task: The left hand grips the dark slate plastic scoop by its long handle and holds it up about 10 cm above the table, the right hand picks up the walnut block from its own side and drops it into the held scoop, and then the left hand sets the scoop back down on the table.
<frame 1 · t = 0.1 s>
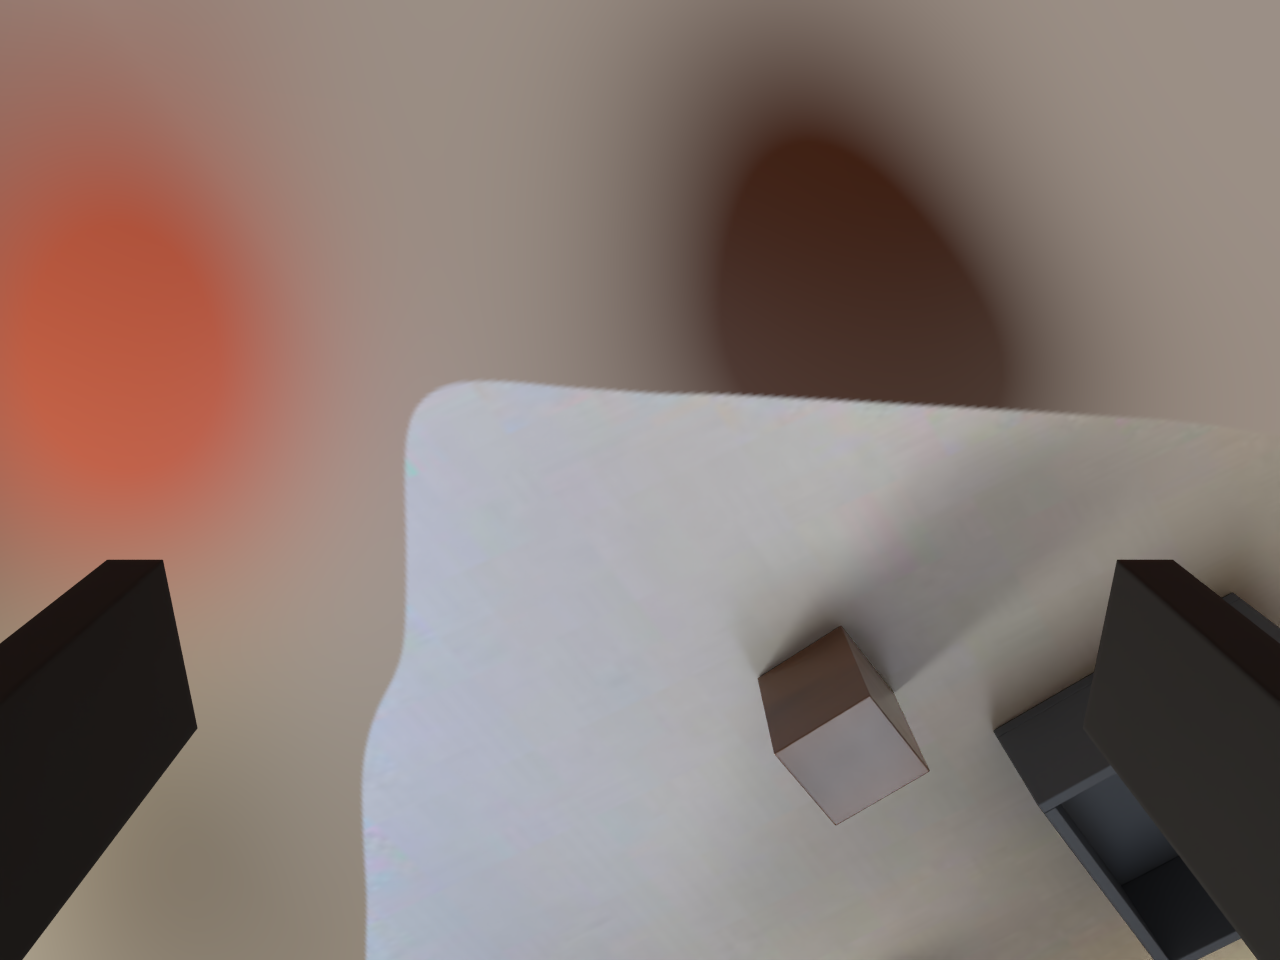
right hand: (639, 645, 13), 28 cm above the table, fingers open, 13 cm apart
scoop: (1167, 750, 47), on the table
walnut block: (826, 686, 45), on the table
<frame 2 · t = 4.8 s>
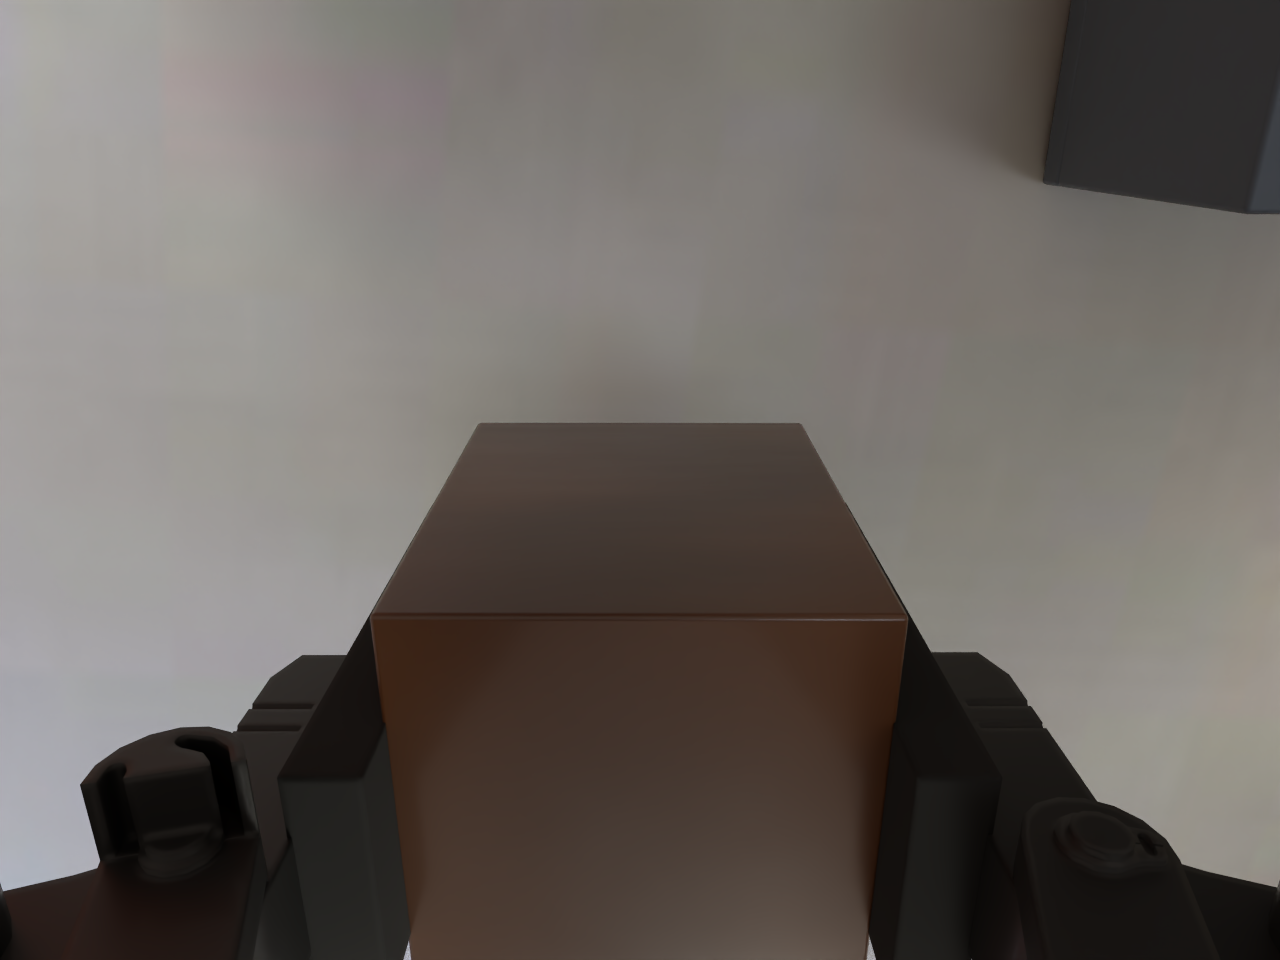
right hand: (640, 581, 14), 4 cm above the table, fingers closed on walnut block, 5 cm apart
walnut block: (639, 567, 15), point 3 cm above the table, touching right hand
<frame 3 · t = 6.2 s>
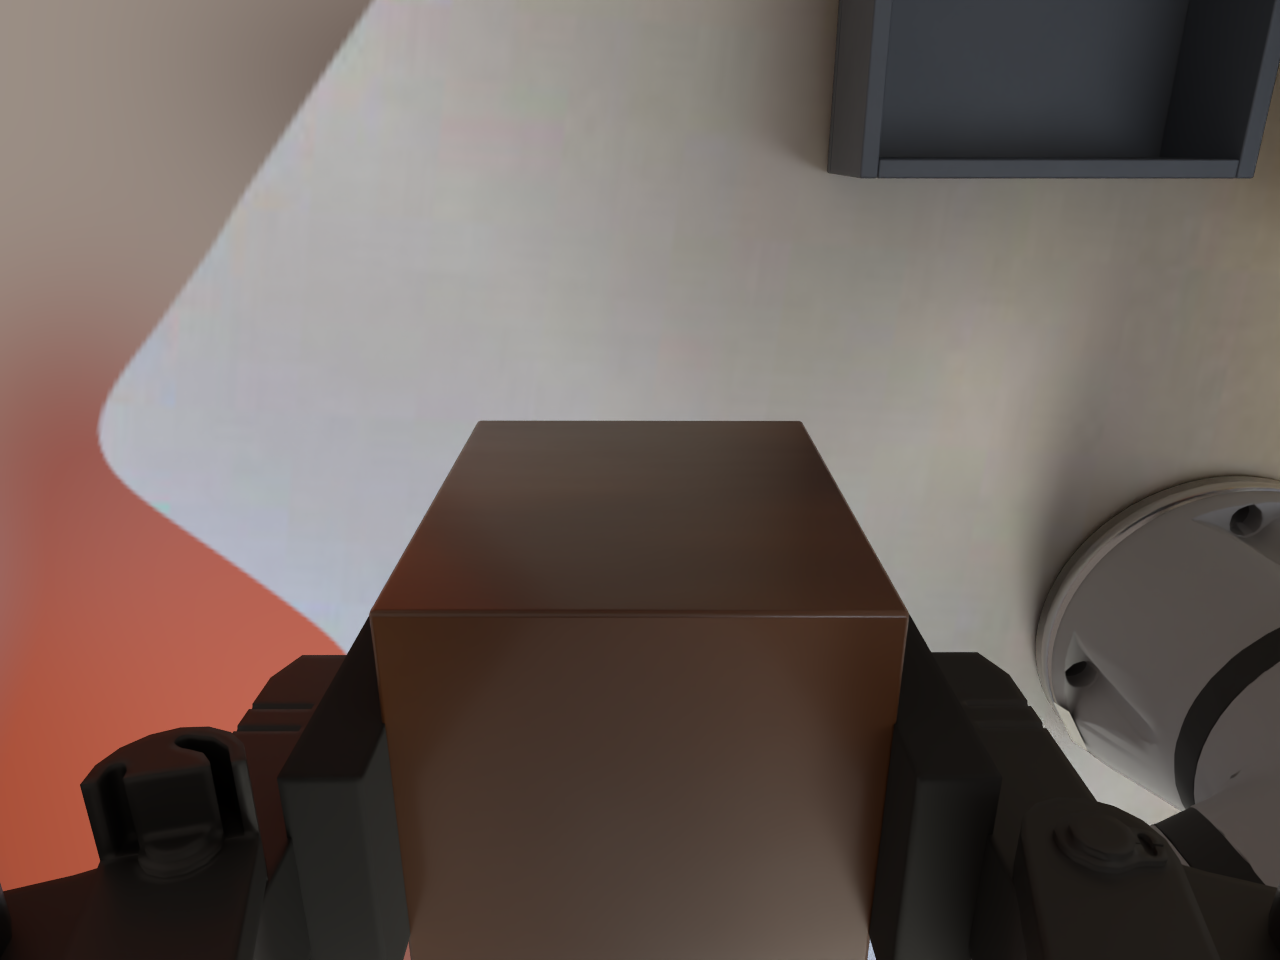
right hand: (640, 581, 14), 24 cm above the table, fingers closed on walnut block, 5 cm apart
walnut block: (639, 565, 15), point 24 cm above the table, touching right hand
when the right hand's fingers open (25 cm above the table, at t = 10.3 s): walnut block drops 22 cm, resting on scoop.
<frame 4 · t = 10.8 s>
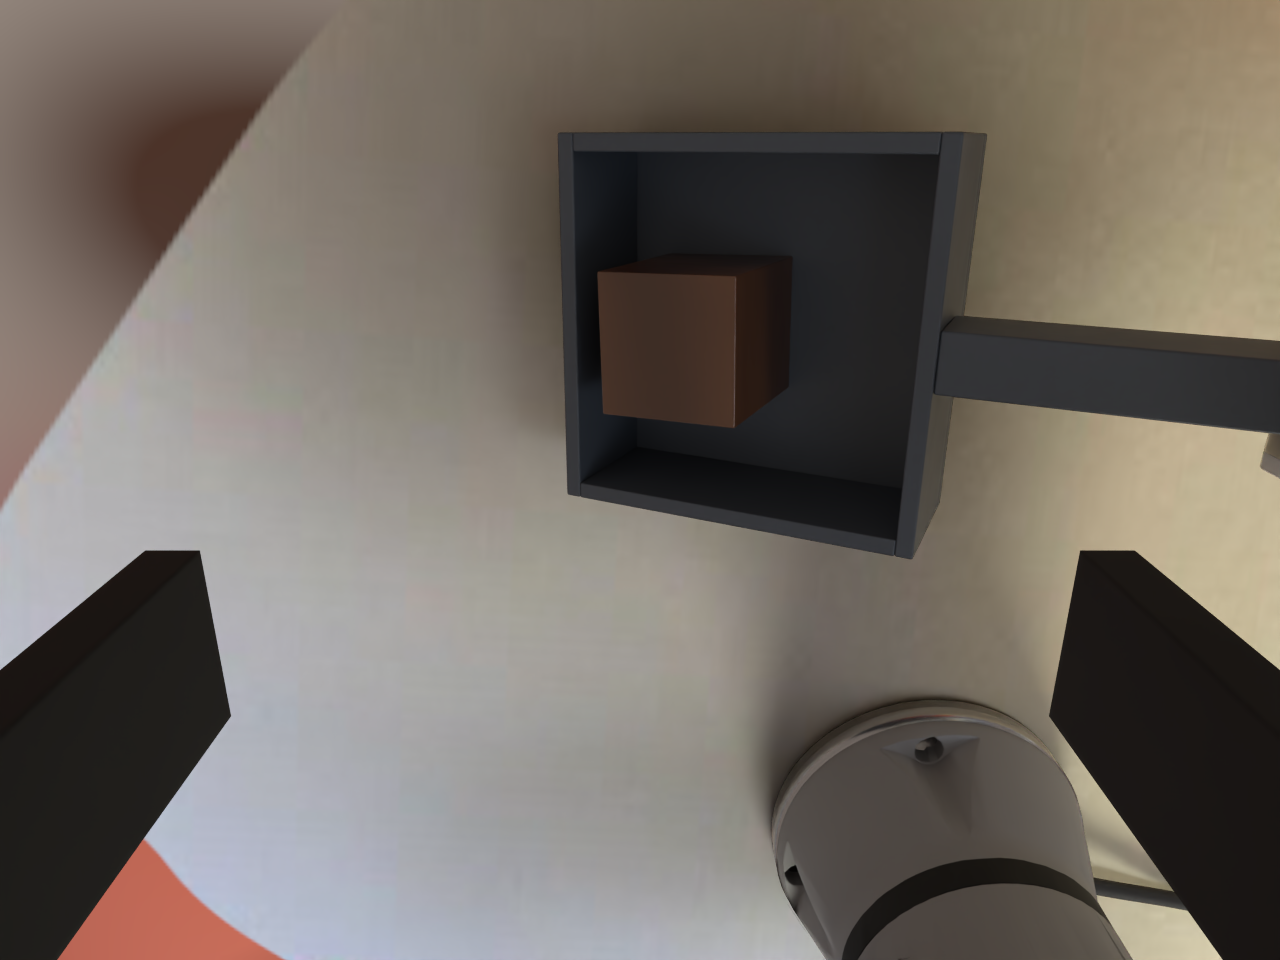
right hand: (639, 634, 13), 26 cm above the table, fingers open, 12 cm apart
scoop: (783, 316, 35), point 3 cm above the table, tilted 26°, touching left hand, walnut block
walnut block: (729, 320, 35), point 3 cm above the table, tilted 26°, touching scoop
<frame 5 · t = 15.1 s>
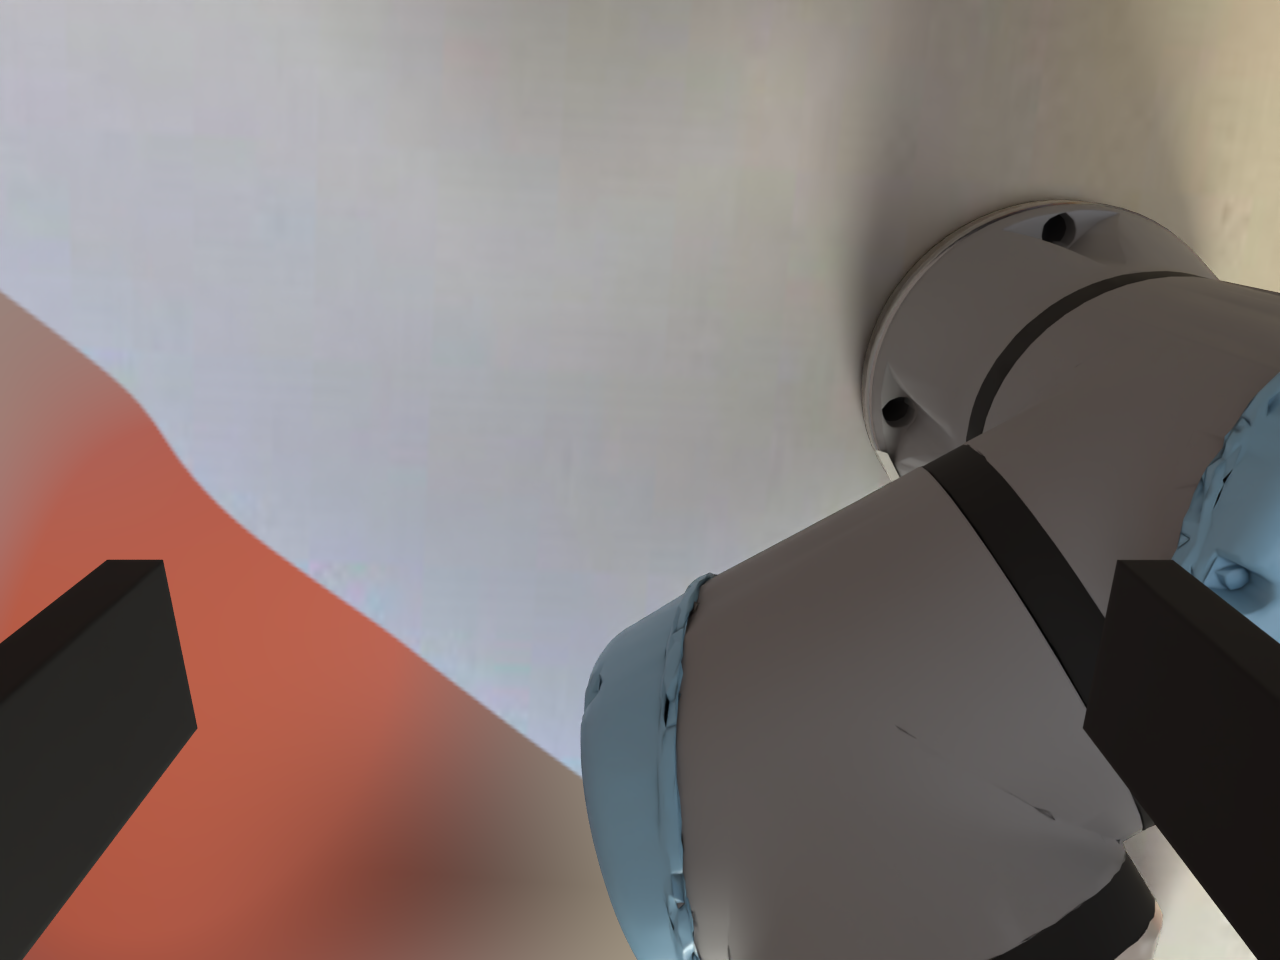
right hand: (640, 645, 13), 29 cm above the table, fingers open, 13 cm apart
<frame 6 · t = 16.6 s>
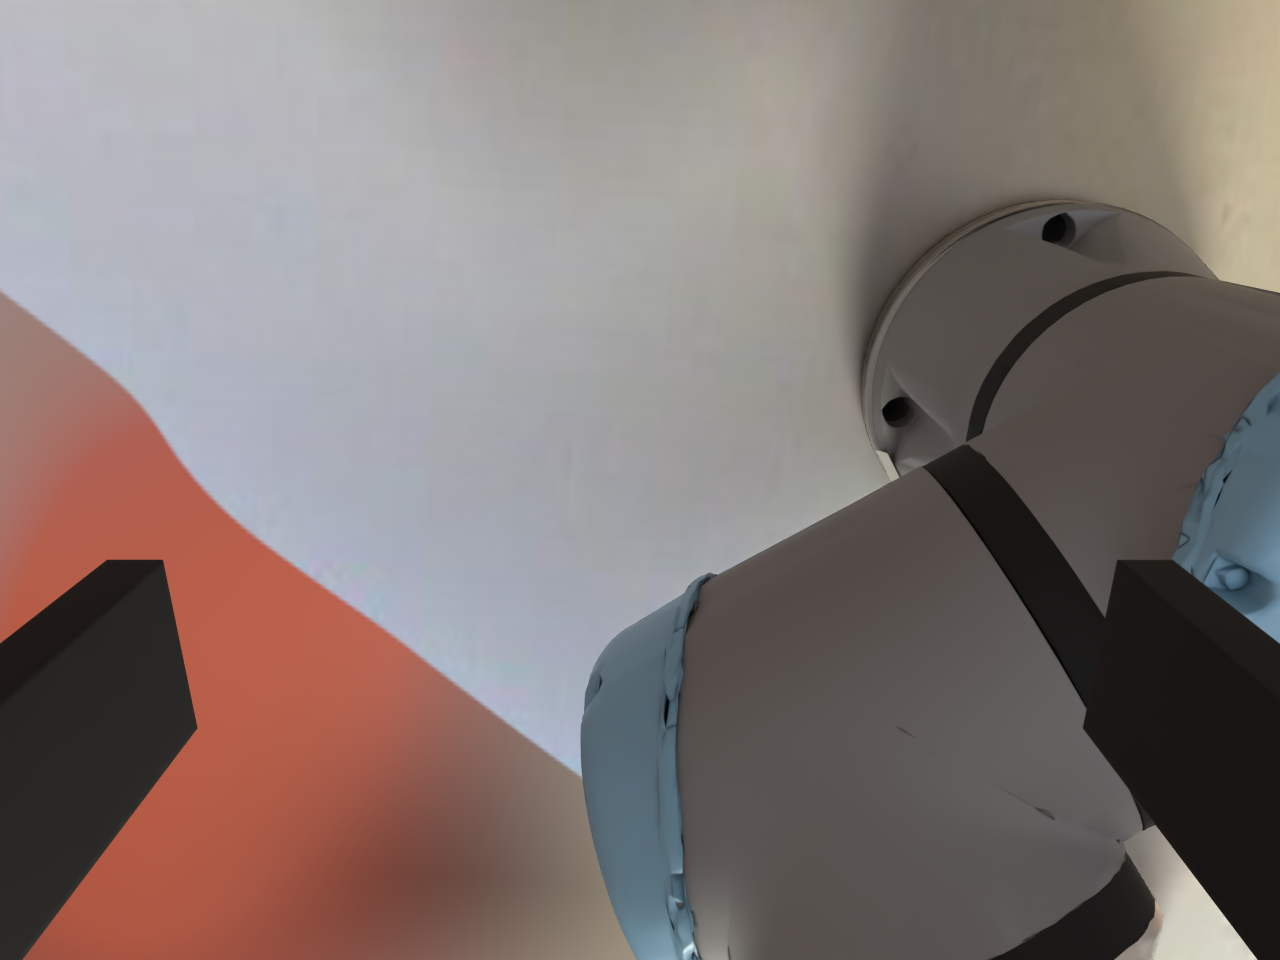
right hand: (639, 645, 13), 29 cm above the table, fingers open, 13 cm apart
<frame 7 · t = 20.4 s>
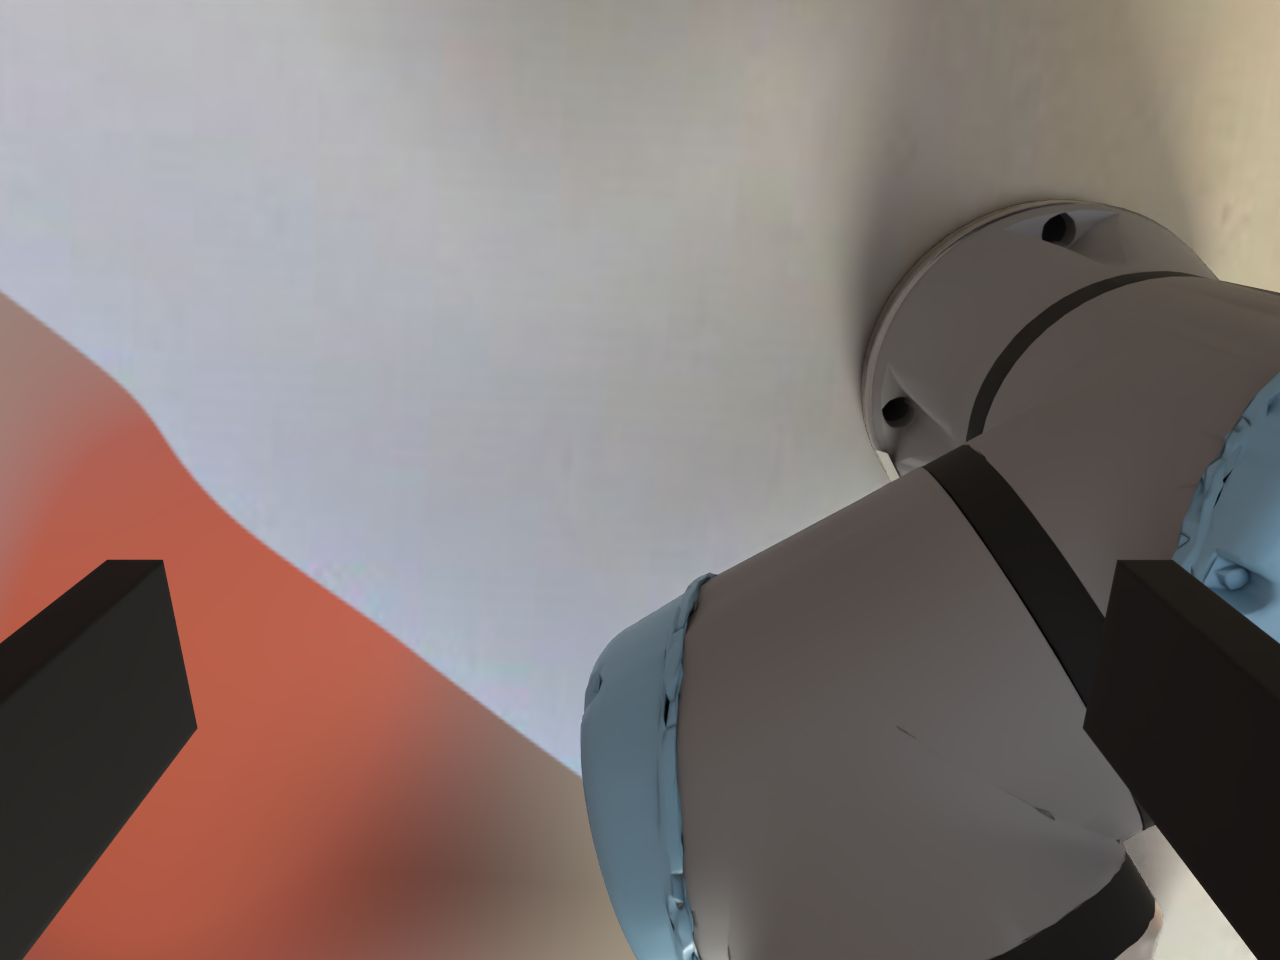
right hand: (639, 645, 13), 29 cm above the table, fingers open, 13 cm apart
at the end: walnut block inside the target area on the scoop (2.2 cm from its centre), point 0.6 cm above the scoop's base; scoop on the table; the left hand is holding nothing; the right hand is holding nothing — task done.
